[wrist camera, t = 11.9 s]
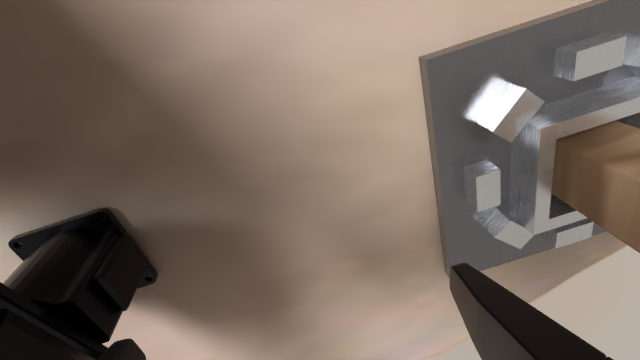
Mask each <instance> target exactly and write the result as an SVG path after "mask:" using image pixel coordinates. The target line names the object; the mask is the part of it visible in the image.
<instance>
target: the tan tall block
mask: <svg viewBox="0 0 640 360" xmlns="http://www.w3.org/2000/svg"><path fill="white" fill-rule="evenodd" d="M551 194H553V195H554V196H556V197H557V198H559V199H560V200H562V201H563V202H565V203H566V204H568V205H569V206H571V207H572V208H574V209H575V210H577V211H578V212H580V213H581V214H583V215H584V216H586V217H587V218H589V219H590V220H592V221H593V222H595V223H596V224H598V225H599V226H600V227H602V228H603V229H605V230H606V231H608V232H609V233H611V234H612V235H614V236H615V237H617V238H618V239H620V240H621V241H623V242H624V243H626V244H627V245H629V246H630V247H632V248H633V249H635V250H636V251H638V252H639V253H640V129H639V128H636V127H633V126H630V125H627V124H624V123H621V122H618V121H611V122H608V123H605V124H602V125H599V126H596V127H593V128H590V129H587V130H583V131H580V132H577V133H574V134H571V135H568V136H565V137H562V138H559V139H556V146H555V157H554V168H553V179H552V190H551Z"/></svg>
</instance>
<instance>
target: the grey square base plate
mask: <svg viewBox="0 0 640 360" xmlns="http://www.w3.org/2000/svg"><path fill="white" fill-rule="evenodd" d="M419 63H420V71H421V79H422V87H423V95H424V103H425V111H426V119H427V127H428V135H429V144H430V152H431V160H432V168H433V176H434V184H435V192H436V200H437V208H438V216H439V224H440V233H441V241H442V249H443V257H444V265H445V272H446V273H447V275H448V276H449V278H450V267H451V266H452V265H455V264H459V263H467V264H469V265H470V266H472V267H473V268H475V269H476V270H478V271H482V270H485V269H488V268H491V267H494V266H498V265H501V264H504V263H507V262H510V261H513V260H516V259H520V258H523V257H526V256H529V255H532V254H535V253H538V252H542V251H545V250H548V249H551V248H555V249H557V248H560V247H563V246H567V245H570V244H573V243H576V242H579V241H582V240H585V239H589V238H591V236H592V235H595V234H598V233H601V232H605V231H606V230H605V229H603V228H602V227H600V226H599V225H598V224H596V223H595V222H593V221H592V220H590V219H589V218H587V217H586V216H584V215H583V214H581V213H580V212H578V211H577V210H575V209H574V208H572V207H571V206H569V205H568V204H566V203H565V202H563V201H562V200H560V199H559V198H557V197H556V196H554V195H553V194H551V190H552V179H553V168H554V157H555V146H556V139H559V138H562V137H565V136H568V135H571V134H574V133H577V132H580V131H583V130H587V129H590V128H593V127H596V126H599V125H602V124H605V123H608V122H611V121H618V122H621V123H624V124H627V125H630V126H633V127H636V128H639V129H640V0H593V1H590V2H587V3H584V4H581V5H578V6H575V7H572V8H569V9H566V10H563V11H559V12H556V13H553V14H550V15H547V16H544V17H541V18H538V19H535V20H532V21H529V22H526V23H523V24H520V25H517V26H513V27H510V28H507V29H504V30H501V31H498V32H495V33H492V34H489V35H486V36H483V37H480V38H477V39H474V40H470V41H467V42H464V43H461V44H458V45H455V46H452V47H449V48H446V49H443V50H440V51H437V52H434V53H431V54H428V55H424V56H421V57H419Z"/></svg>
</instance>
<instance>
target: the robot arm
mask: <svg viewBox="0 0 640 360" xmlns="http://www.w3.org/2000/svg"><path fill="white" fill-rule="evenodd" d="M100 215H103V216H105V217H106V218H102V217H101V216H100ZM19 243H21V244H22V245H21V244H19ZM8 244H9V247H10V248H11V249H12V250H13V251H14V252H15V253H16V254H17V255H18V256H19V257H20V258H21V259H22V260H23V261H24V262H23V263H22V264H21V265H20V266H19V267H18V268H17V269H16V270H15V271H14V272H13V273H12V274H11V276H10V277H9V278H8V279H7V280H6V281H5V282H4V283H3V284H2V283H1V282H0V360H146V357H145V354H144V353H143V352H142V350H141V349H140V348H139V347H138V345H137V344H136V343H135V342H134V341H133V340H132V339H124V340H120V341H116V342H114V343H113V344H112V345H111V346H110V347H109V348H108V347H106V346H104V345H103V344H102V343H105V342H108V341H109V340H110V338H111V336H112V334H113V331H114V329H115V327H116V325H117V323H118V321H119V318H120V316H121V314H122V312H123V311H126V310H127V309H128V307H129V305H130V303H131V300H132V298H133V296H134V294H135V292H136V289H137V288H140V287H144V286H147V285H150V284H153V283H155V281H156V279H157V277H158V274H157V272H156V271H155V269H154V268H153V267H152V265H151V264H150V263H149V260H148V259H147V258H146V256H145V255H144V254H143V252H142V251H141V249H140V248H139V247H138V245H137V244H136V243H135V241H134V240H133V239H132V237H131V236H130V235H129V234H128V233H127V232H126V231H125V229H124V228H123V227H122V225H121V224H120V223H119V221H118V220H117V219H116V217H115V216H114V215H113V213H112V212H111V211H110V210H108V209H104V208H101V209H97V210H94V211H91V212H88V213H85V214H82V215H79V216H76V217H73V218H70V219H66V220H63V221H60V222H57V223H54V224H51V225H48V226H45V227H42V228H39V229H36V230H33V231H29V232H26V233H23V234H20V235H17V236H15V237H14V238H12V239H11V240H10V241H9V243H8ZM148 276H150V277H148ZM450 289H451V293H452V295H453V298H454V300H455V302H456V304H457V307H458V309H459V311H460V314H461V316H462V318H463V321H464V323H465V325H466V327H467V330H468V332H469V334H470V337H471V339H472V341H473V343H474V345H475V347H476V349H477V351H478V353H479V355H480V357H481V359H482V360H613V359H612V358H610V357H607V358H606V355H605V354H604V353H602V352H601V351H599V350H598V349H596V348H595V347H593V346H592V345H590V344H589V343H587V342H586V341H584V340H583V339H581V338H580V337H578V336H577V335H575V334H573V333H572V332H570V331H569V330H567V329H566V328H564V327H563V326H561V325H560V324H558V323H557V322H555V321H554V320H552V319H551V318H549V317H548V316H546V315H544V314H543V313H542V312H540V311H539V310H537V309H536V308H534V307H533V306H531V305H530V304H528V303H527V302H525V301H523V300H522V299H520V298H519V297H517V296H516V295H514V294H513V293H511V292H510V291H508V290H507V289H505V288H504V287H502V286H501V285H499V284H498V283H496V282H495V281H493V280H492V279H490V278H489V277H487V276H486V275H484V274H483V273H481V272H480V271H478V270H476V269H475V268H473V267H472V266H470V265H469V264H467V263H459V264H455V265H452V266H451V267H450Z"/></svg>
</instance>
